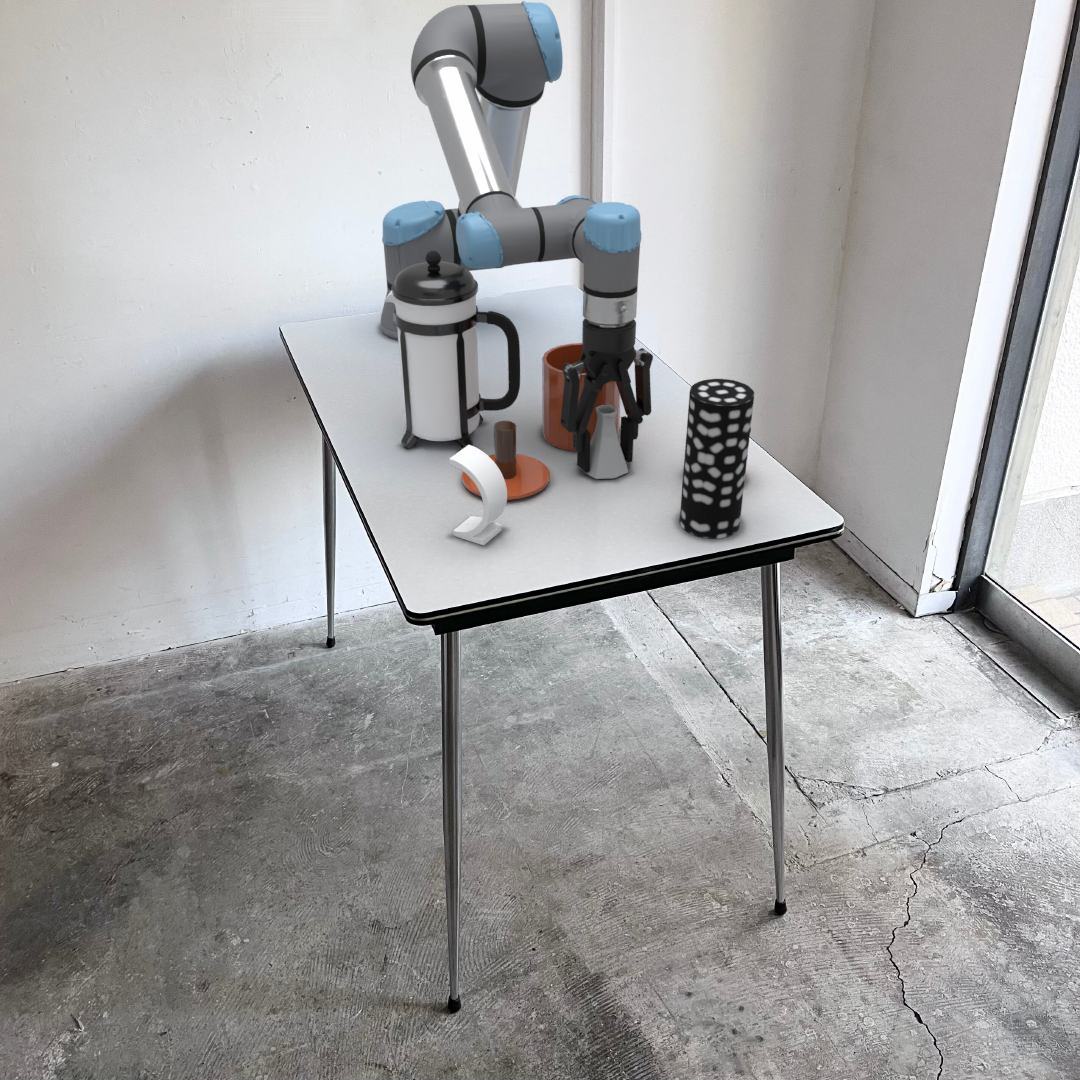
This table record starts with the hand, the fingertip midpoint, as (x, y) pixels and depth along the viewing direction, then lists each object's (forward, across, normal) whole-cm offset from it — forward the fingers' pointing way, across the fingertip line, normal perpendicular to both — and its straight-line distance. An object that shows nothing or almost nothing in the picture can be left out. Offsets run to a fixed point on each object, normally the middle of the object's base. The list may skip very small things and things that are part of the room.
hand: (604, 463), depth 165 cm
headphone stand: (+1, -24, -9) cm, 26 cm away
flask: (+1, 0, 0) cm, 1 cm away
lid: (0, -15, +3) cm, 15 cm away
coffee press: (+1, -17, +21) cm, 27 cm away
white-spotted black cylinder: (+1, +6, -20) cm, 21 cm away
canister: (+1, +2, +12) cm, 12 cm away
